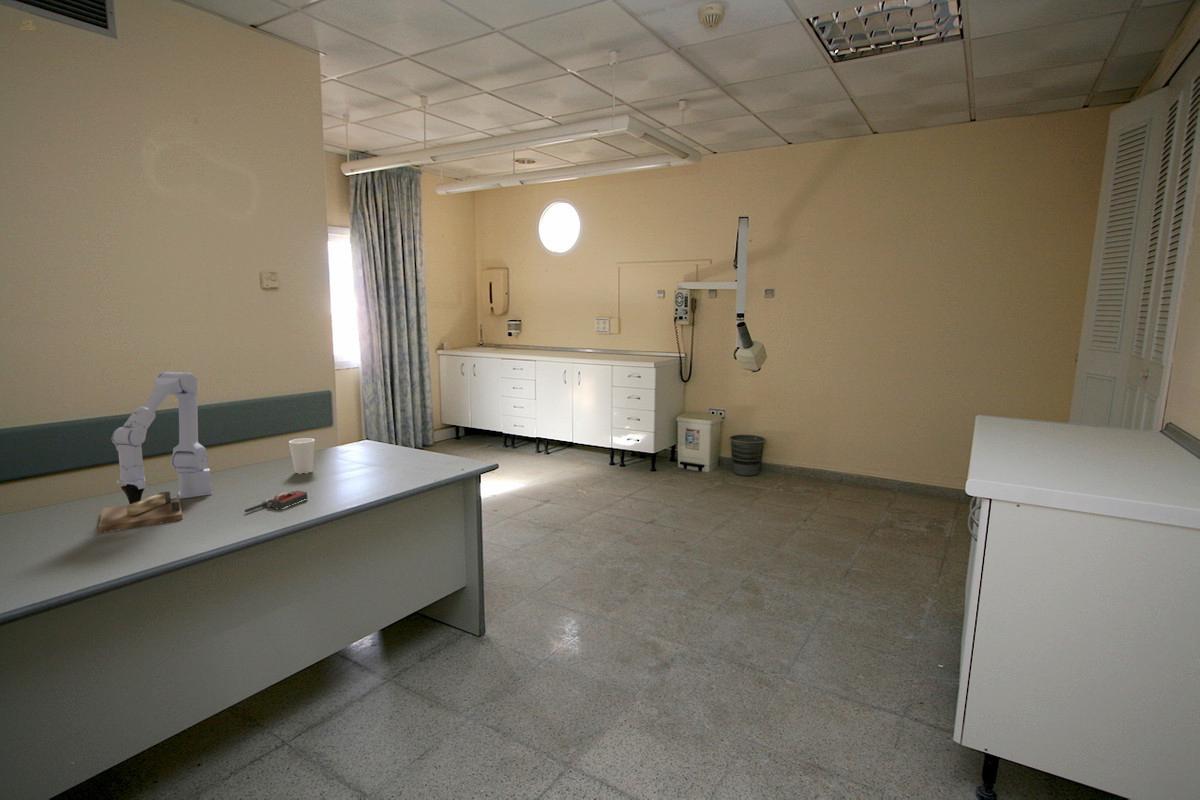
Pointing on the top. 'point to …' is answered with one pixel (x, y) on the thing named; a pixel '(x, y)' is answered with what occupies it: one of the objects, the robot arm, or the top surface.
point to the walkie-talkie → (282, 500)
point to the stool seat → (139, 516)
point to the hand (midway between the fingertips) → (135, 506)
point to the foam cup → (302, 454)
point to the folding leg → (148, 503)
